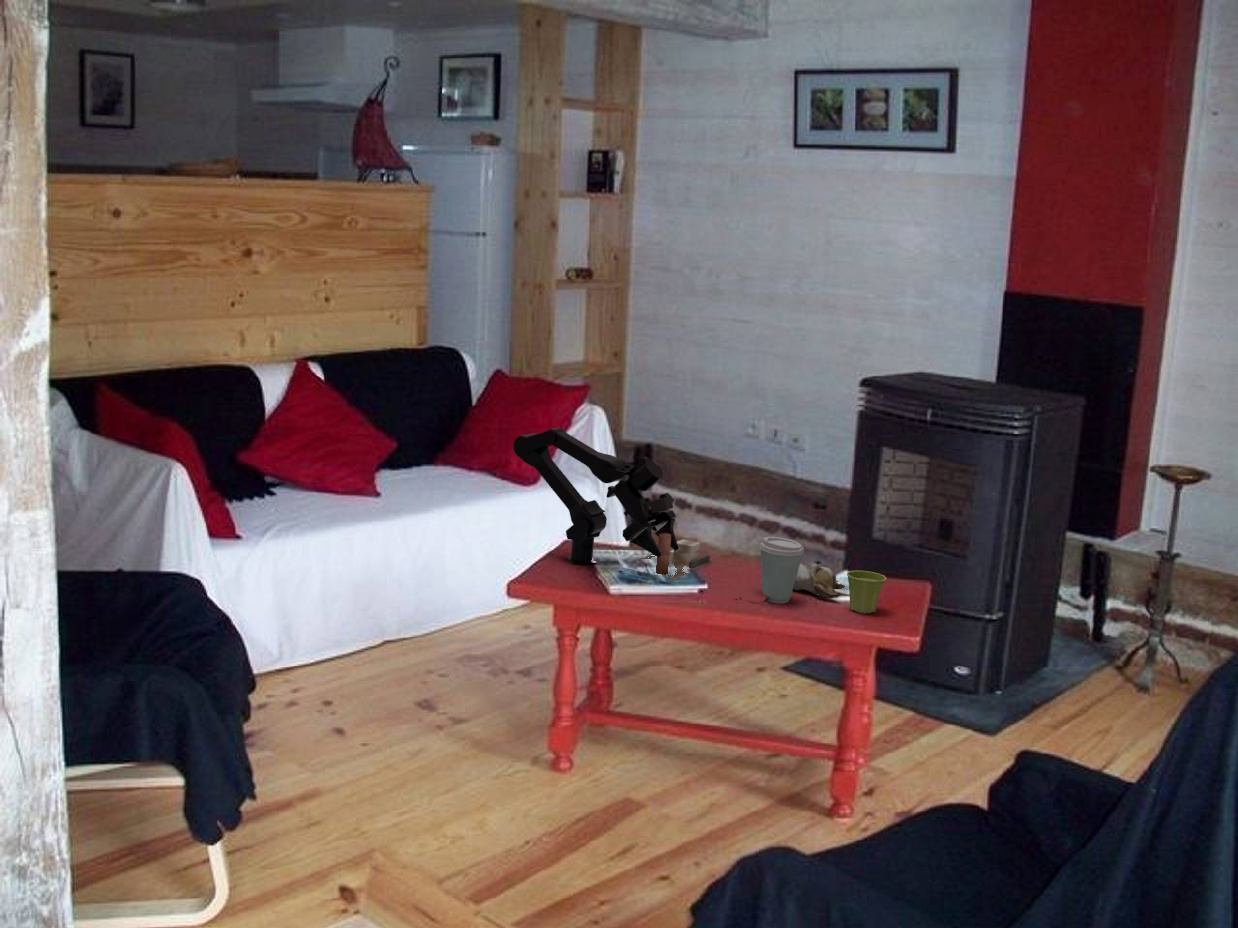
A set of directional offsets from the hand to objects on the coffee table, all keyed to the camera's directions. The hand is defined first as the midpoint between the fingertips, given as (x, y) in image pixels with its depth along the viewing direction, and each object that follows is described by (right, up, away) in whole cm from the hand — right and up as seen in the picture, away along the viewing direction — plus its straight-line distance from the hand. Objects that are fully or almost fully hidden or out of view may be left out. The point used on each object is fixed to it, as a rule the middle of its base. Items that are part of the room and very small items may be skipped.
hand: (668, 552), depth 355 cm
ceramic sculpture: (+37, -10, 0) cm, 38 cm away
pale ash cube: (+5, -3, +15) cm, 16 cm away
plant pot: (+46, -13, -11) cm, 49 cm away
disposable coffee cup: (+26, -11, -8) cm, 29 cm away
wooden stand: (0, -5, +11) cm, 12 cm away
